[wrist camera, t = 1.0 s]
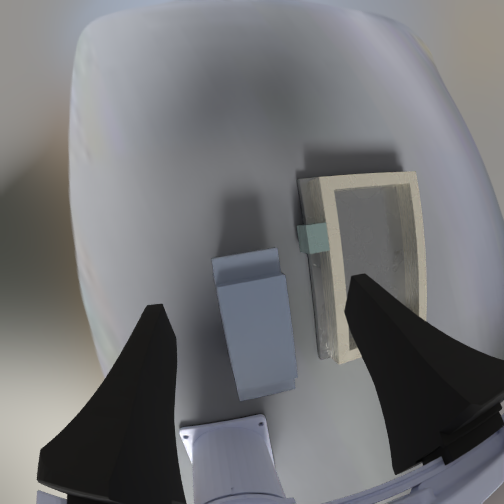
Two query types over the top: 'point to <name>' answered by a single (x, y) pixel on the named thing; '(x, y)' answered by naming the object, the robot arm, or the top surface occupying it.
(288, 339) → the block
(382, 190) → the frame
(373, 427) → the top surface
